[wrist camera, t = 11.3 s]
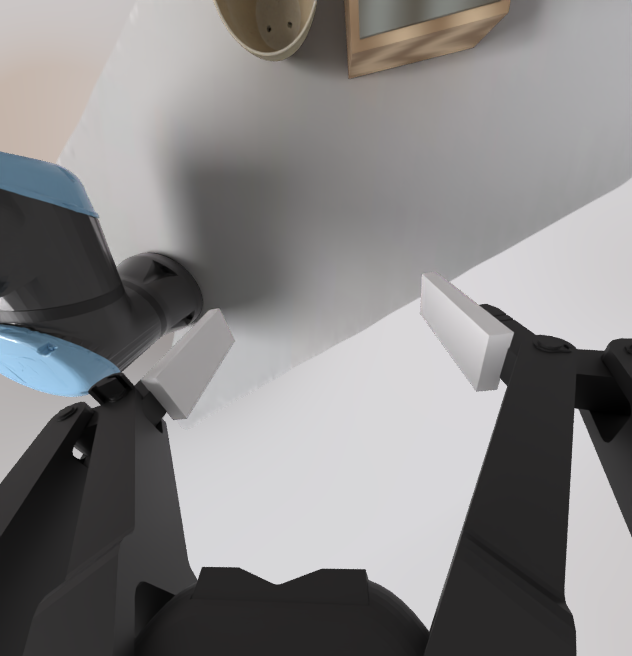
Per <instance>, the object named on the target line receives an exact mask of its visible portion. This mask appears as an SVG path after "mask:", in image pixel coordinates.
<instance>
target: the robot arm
mask: <svg viewBox="0 0 632 656" xmlns="http://www.w3.org/2000/svg"><path fill="white" fill-rule="evenodd" d="M98 218H99V215H98V214H97V213H96V212H95V211H94V209H93V206H92V204H91V202H90V200H89V198H88V196H87V193H86V191H85V189H84V186H83V185H82V183H81V181H80V180H79V179H78V178H77V177H76V176H75V175H74V174H73V173H72V172H70V171H69V170H67V169H66V168H64V167H62V166H59V165H57V164H53V163H50V162H45V161H41V160H37V159H32V158H28V157H23V156H19V155H14V154H9V153H4V152H0V373H1V374H2V375H4V376H6V377H8V378H9V379H11V380H13V381H15V382H18V383H20V384H22V385H25V386H28V387H30V388H32V389H35V390H38V391H42V392H45V393H49V394H53V395H59V396H68V397H75V396H84V395H88V394H90V395H91V396H92V397H93V398H94V399H95V400H96V401H98V402H99V404H100V405H101V406H98V407H95V408H91V407H90V406H89V405H87V404H86V403H85V402H79V403H75V404H73V405H71V406H67V407H65V409H62V410H61V411H59V413H58V414H56V415H55V416H54V417H53V418H52V419H51V420H50V421H49V422H48V423H47V425H46V426H45V427H44V429H43V430H42V431H41V432H40V434H39V435H38V436H37V437H36V439H35V440H34V441H33V443H32V444H31V445H30V446H29V448H28V449H27V450H26V452H25V453H24V454H23V455H22V457H21V458H20V459H19V461H18V462H17V463H16V464H15V466H14V467H13V468H12V469H11V471H10V472H9V473H8V475H7V476H6V477H5V478H4V480H3V481H2V482H1V484H0V656H576V630H575V624H574V619H573V615H572V613H571V612H570V610H569V608H568V606H567V605H566V601H565V595H564V584H565V566H566V549H567V531H568V529H567V528H568V513H569V495H570V477H571V459H572V441H573V423H574V408H577V409H579V411H580V413H581V416H582V418H583V421H584V423H585V425H586V428H587V430H588V433H589V435H590V437H591V440H592V442H593V444H594V447H595V450H596V452H597V454H598V457H599V459H600V461H601V464H602V466H603V469H604V471H605V473H606V476H607V478H608V481H609V483H610V485H611V488H612V490H613V493H614V495H615V498H616V500H617V503H618V505H619V507H620V510H621V512H622V515H623V517H624V519H625V522H626V524H627V527H628V529H629V531H630V534H631V536H632V339H623V338H621V339H616V340H612V341H611V342H610V343H609V344H608V346H607V348H606V349H605V351H597V350H580V349H576V347H574V346H573V345H572V344H570V343H569V342H567V341H565V340H563V339H560V338H556V337H552V336H545V335H535V334H534V333H532V332H531V331H529V330H528V329H527V328H525V327H524V326H522V325H521V324H520V323H518V322H517V321H515V320H513V318H511V317H510V316H508V315H506V313H504V312H503V311H501V310H500V309H499V308H496V307H494V306H491V305H488V304H482V305H478V304H477V303H476V302H474V301H473V300H472V299H470V298H469V297H468V296H467V295H465V294H464V293H463V292H461V291H460V290H459V289H458V288H456V287H455V286H454V285H453V284H451V283H450V282H449V281H448V280H446V279H445V278H444V277H442V276H441V275H440V274H439V273H437V272H436V271H433V272H428V273H422V284H421V309H420V314H421V316H422V317H423V318H424V320H425V321H426V322H427V324H428V325H429V327H430V328H431V329H432V331H433V332H434V334H435V335H436V336H437V338H438V339H439V341H440V342H441V343H442V345H443V346H444V347H445V349H446V350H447V352H448V353H449V354H450V356H451V357H452V359H453V360H454V361H455V363H456V364H457V365H458V366H459V368H460V370H461V371H462V372H463V374H464V375H465V376H466V378H467V379H468V381H469V382H470V384H471V385H472V386H473V388H474V389H475V390H476V391H486V390H496V389H497V388H498V384H499V381H500V378H501V380H502V381H503V382H504V383H505V384H506V385H507V389H506V392H505V395H504V398H503V401H502V404H501V408H500V411H499V414H498V417H497V420H496V424H495V427H494V430H493V433H492V436H491V439H490V443H489V446H488V449H487V452H486V455H485V458H484V462H483V465H482V468H481V471H480V474H479V477H478V481H477V483H476V487H475V490H474V493H473V496H472V499H471V503H470V506H469V509H468V512H467V515H466V518H465V522H464V525H463V528H462V531H461V534H460V537H459V540H458V543H457V547H456V550H455V553H454V556H453V559H452V562H451V566H450V569H449V572H448V575H447V578H446V581H445V584H444V588H443V590H442V593H441V596H440V599H439V603H438V606H437V609H436V612H435V615H434V618H433V621H432V625H431V628H430V631H428V630H427V628H426V627H425V626H424V624H423V623H422V622H421V621H420V619H419V618H418V617H417V616H416V614H415V613H414V612H413V611H412V610H411V609H410V608H409V607H408V606H407V605H406V604H405V603H404V602H403V601H402V600H401V599H399V598H398V597H397V596H396V595H394V594H393V593H392V592H390V591H389V590H387V589H386V588H384V587H382V586H381V585H379V584H377V583H374V582H372V581H370V580H368V577H367V573H366V570H365V569H320V570H317V571H315V572H312V573H309V574H307V575H304V576H301V577H299V578H296V579H293V580H291V581H288V582H285V583H283V584H279V585H276V584H272V583H270V582H268V581H266V580H264V579H262V578H260V577H258V576H256V575H253V574H251V573H249V572H247V571H245V570H242V569H241V568H235V567H234V568H232V567H228V568H227V567H202V569H201V572H200V575H199V578H198V581H197V578H196V577H195V575H194V573H193V571H192V570H191V568H190V565H189V561H188V557H187V550H186V544H185V538H184V531H183V525H182V519H181V513H180V507H179V501H178V494H177V488H176V482H175V476H174V469H173V463H172V457H171V450H170V445H169V438H168V432H167V426H166V422H165V421H164V420H163V419H162V417H163V416H164V415H165V414H166V412H167V413H168V414H169V416H170V417H171V418H172V419H173V420H178V419H187V418H188V416H189V415H190V413H191V411H192V410H193V408H194V407H195V405H196V403H197V402H198V400H199V398H200V397H201V395H202V394H203V392H204V390H205V389H206V387H207V385H208V384H209V382H210V381H211V379H212V377H213V376H214V374H215V372H216V371H217V369H218V368H219V366H220V364H221V363H222V361H223V360H224V358H225V356H226V355H227V353H228V351H229V350H230V348H231V347H232V345H233V343H234V342H235V340H234V338H233V336H232V334H231V331H230V329H229V327H228V325H227V323H226V321H225V319H224V317H223V315H222V312H221V310H220V308H217V309H211V310H209V311H208V312H207V313H206V314H205V315H204V316H203V317H202V318H201V319H200V320H199V321H198V322H197V323H196V324H195V325H194V326H193V327H192V328H191V329H190V330H189V331H188V332H187V333H186V334H185V335H184V336H183V337H182V338H181V339H180V340H179V341H178V342H177V343H176V344H175V345H174V346H173V347H172V348H171V349H170V350H169V351H168V352H167V353H166V354H165V355H164V356H163V357H162V358H161V359H160V360H159V361H158V362H157V363H156V364H155V366H153V367H152V368H151V370H150V371H148V373H147V374H146V375H145V376H144V377H143V378H142V379H141V380H140V381H139V382H138V383H137V384H136V385H135V386H134V385H133V384H132V383H131V382H130V380H129V379H128V378H127V377H126V376H125V375H124V374H123V373H121V372H122V371H123V370H124V369H125V368H127V367H128V366H129V365H130V364H131V363H132V362H133V361H134V360H135V359H137V358H138V357H139V356H140V355H141V354H142V353H143V352H145V351H146V350H147V349H148V348H149V347H150V346H151V345H152V344H153V343H154V342H156V341H157V340H158V339H159V338H160V337H161V336H163V335H166V334H169V333H171V332H174V331H177V330H180V329H183V328H185V327H187V326H188V325H190V324H191V323H192V322H193V321H194V320H195V319H196V318H197V317H198V316H199V314H200V312H201V309H202V295H201V292H200V289H199V287H198V285H197V283H196V281H195V280H194V278H193V277H192V276H191V275H190V273H189V272H188V271H187V270H186V269H185V268H183V267H182V266H181V265H180V264H178V263H177V262H175V261H174V260H172V259H170V258H168V257H165V256H163V255H159V254H155V253H142V254H138V255H135V256H132V257H129V258H127V259H125V260H124V261H122V262H121V263H120V264H119V265H118V266H117V267H116V265H115V263H114V260H113V258H112V255H111V253H110V250H109V247H108V245H107V242H106V239H105V236H104V234H103V231H102V228H101V226H100V223H99V220H98ZM73 447H75V448H76V449H78V450H79V451H80V452H82V453H83V455H82V457H81V459H77V458H76V457H74V456H73V452H72V451H73Z"/></svg>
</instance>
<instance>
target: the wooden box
mask: <svg viewBox="0 0 632 656" xmlns="http://www.w3.org/2000/svg"><path fill="white" fill-rule="evenodd" d="M510 1H511V0H344V7H345V24H346V41H347V59H348V76H349V79H350V78H354V77H358V76H362V75H366V74H370V73H374V72H378V71H382V70H386V69H390V68H394V67H398V66H402V65H406V64H410V63H414V62H418V61H422V60H426V59H430V58H434V57H438V56H442V55H446V54H450V53H454V52H458V51H462V50H466V49H470V48H474V47H475V46H476V45H477V44H478V43H479V42H480V41H481V40H482V39H483V38H484V37H485V36H486V35H487V33H488V32H489V31H490V30H491V29H492V28H493V27H494V26H495V25H496V24H497V23H498V22H499V21H500V20H501V19H502V18H503V17H504V16H505V15H506V14H507V13H508V12H509V6H510Z"/></svg>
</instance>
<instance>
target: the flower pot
mask: <svg viewBox="0 0 632 656" xmlns="http://www.w3.org/2000/svg"><path fill="white" fill-rule="evenodd" d="M213 1H214V4H215V6H216V9H217V11H218V14H219V16H220V18H221V20H222V22H223V23H224V25H225V27H226V28H227V30H228V31H229V32H230V34H231V35H232V36H233V37H234V39H235V40H236V41H237V42H238V43H239V44H240V45H241V46H242V47H244V48H245V49H246V50H247V51H249V52H250V53H252V54H253V55H255V56H257V57H259V58H261V59H264V60H268V61H280V60H284V59H286V58H288V57H290V56H291V55H293V54H294V53H295V52H296V51H297V50H298V49H299V47H300V46H301V45H302V43H303V42H304V40H305V38H306V36H307V34H308V32H309V30H310V27H311V24H312V21H313V18H314V14H315V10H316V6H317V0H213ZM289 22H290V23H291V25H290V24H289ZM270 29H271V31H270V32H269V30H270Z"/></svg>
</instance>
